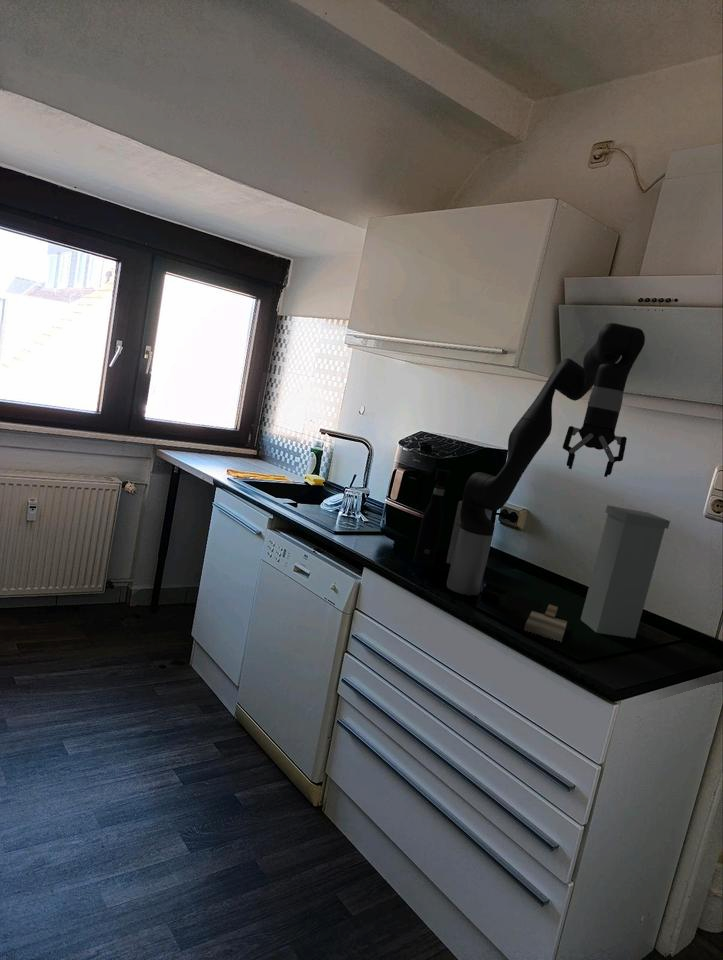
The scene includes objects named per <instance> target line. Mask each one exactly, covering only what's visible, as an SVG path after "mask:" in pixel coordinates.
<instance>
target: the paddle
mask: <svg viewBox="0 0 723 960" xmlns="http://www.w3.org/2000/svg"><path fill="white" fill-rule="evenodd" d="M558 608H559V607H558V606H556V605H553V604H548V606H547V608H546V611H545V613H541V612H538V611H534V610H531V612H530V614H529V616H528V618H527V620H526V622H525V623H524V624H525V625H524V629H523V631H524V630H525V631H524V632H526V631H528V632H527V633H529V632H532V633H531V634H533V633H535V634H534V635H536V634H538V635H537V636H539V635H541V636H540V637H542V636H543V638H545V637H546V638H545V639H548V638H550V639H549V640H552V639H553V640H552V641H555V640H557V641H556V642H558V641H560V642H559V643H562V642H563V638H564V635H565V631H566V628H567V624H568V621H567V620H564V619H560V618H557V617H556V616H557V612H558Z"/></svg>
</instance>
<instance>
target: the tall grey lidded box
mask: <svg viewBox="0 0 723 960" xmlns="http://www.w3.org/2000/svg"><path fill="white" fill-rule="evenodd" d="M605 513H606V515H607V516H606V519H605V524H604V526H603V527H604V528H603V531H602V535H601V538H600V543H599V546H598V550H597V554H596V559H595V563H594V565H593V570H592V574H591V577H590V582H589V585H588V589H587V593H586V596H585V601H584V603H583V604H584V605H583V608H582V613H581V617H580V620H581V622H582V623H584V624H586V625H587V626H588V627H589V628H590V629H591V630H592V631H594V632H595V633H597V634H603V635H607V636H608V635H609V636H617V637H622V638H629V637H630V638H629V639H636V636H637V633H638V629H639V626H640V621H641V618H642V615H643V611H644V607H645V603H646V600H647V595H648V592H649V589H650V585H651V581H652V577H653V574H654V570H655V566H656V564H657V563H656V562H657V559H658V555H659V551H660V548H661V545H662V540H663V536H664V533H665V531H666V530H665V529H667V530H668V529H669V527H670V522H671V521H670V520H668V519H666V518H664V517H661V516H659V515H658V516H657V515H655V514H653V513H650V512H646V511H641V510H636V509H630V508H625V507H620V506H615V505H614V506H613V505H609V504H607V505H606V508H605Z"/></svg>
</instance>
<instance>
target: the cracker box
mask: <svg viewBox="0 0 723 960" xmlns="http://www.w3.org/2000/svg"><path fill="white" fill-rule="evenodd" d="M461 506H462V500H459V501H458V502H457V508H456V512H455V518H454V522H453V527H452V531H451V532H452V533H451V538H450V541H449V542H450V543H449V547H448V551H447V556H446V561H445V564H448V565H451V561H452V557H453V553H454V552H455V547H456V543H457V538H458V534H459V529H460V525H461V519H460V512H461ZM485 513H486V515H487V517H488V519H489V520H490V521H491V520H492V514H493V511H491V510H487V509H485Z"/></svg>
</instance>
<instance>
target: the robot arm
mask: <svg viewBox="0 0 723 960" xmlns="http://www.w3.org/2000/svg"><path fill="white" fill-rule="evenodd" d="M645 335H646V334H645V332H644V331H643V330H642V329H641V328H638V327H636V326H635V327H634V326H630V325H624V324H621V323H620V324H619V323H616V322H615V323H613V322H610V323H607V324H605V325H603V326H602V327H601V329H600V331H599V333H598V337H597V340H596V342H595V343H594V344H593V346H591V347H590V348H589V349H588V350H587V351H586V353H585V355H584V357H583V360H582V361H583V362H582V364H583V366H582V365H580V364H579V363H577V362H576V361H574V360H573V359H572V358H564V359H562V360H561V361H560V362H559V363H558V365H557V366H556V367H555V368H554V369H553V371H552V373H551V374H550V375H549V377H548V379H547V380H546V382H545V384H544V385H543V387H542V388H541V390H540V392H539V393H538V394H537V396H536V397H535V399H534V400H533V402H532V403H531V405H530V406H529V407H528V409H527V410H526V411H525V412H524V414H523V415H522V416H521V417H520V419H519V420H518V422H517V423H516V424H515V426H514V427H513V428H512V430H511V431H510V432H509V436H508V440H507V441H508V442H507V458H506V460H505V461H506V462H505V463H504V464H503V466H502V468H501V470H500V471H499V472H498V473H497V475H496V476H495V475H492V474H490V473H489V474H488V473H486V472H482V471H481V472H480V471H477V472H474V473H472V474H471V475H470V476H469V477H468V479H467V481H466V483H465V487H464V489H463V495H462V500H461V501H462V506H461V512H460V519H461V525H460V529H459V534H458V538H457V543H456V547H455V552H454V553H453V557H452V561H451V565H450V564H449V565H450V566H449V570H448V574H447V579H446V587H447V589H449V590H450V591H453V592H455V593H456V594H457V593H458V594H461V595H464V594H465V595H466V596H471V595H476V596H479V595H480V593H481V592H480V591H481V588H482V583H483V580H484V575H485V572H486V571H485V570H486V566H487V562H488V558H489V553H490V548H491V545H492V542H493V541H492V540H493V537H494V532H495V524H494V523H493V521H491V520H489V519H488V517H487V515H486V513H485V509H487V510H491V511H492V512H496V511H499V510H501V509H502V508H503V507H504V506H505V505H506V504H507V502H508V501H509V499H510V497H511V496H512V494H513V492H514V490H515V488H516V486H517V485H518V483H519V481H520V479H521V478H522V476H523V475H524V473H525V471H526V469H527V468H528V467H529V465H530V464H531V462H532V461H533V459H534V457H535V456H536V455H537V453H538V452H539V450H540V449H541V448H542V447H543V445H544V444H545V443H546V441H547V440H548V438H549V436H550V435H551V432H552V430H553V429H552V428H553V414H552V413H553V410H552V409H553V400H554V399H553V398H554V395H555V392H556V391H557V392H559V393H560V394H561V395H563V396H564V397H566V398H568V399H569V400H571V401H575V402H576V401H578V400H581V399H582V398H583V397H584V396H585V395H586V394H587V393H588V392H589V391H590V390H591V389H592V390H591V393H590V395H589V399H588V402H587V408H586V412H585V415H584V419H583V424H582V427H581V428H578V427H574V426H573V425H569V426H568V428H567V432H566V435H565V438H564V441H563V445H562V449H563V450H565V451H566V452H568V456H567V460H566V461H567V462H566V466H567V467H568V469H569V470H572V469H573V465H574V461H575V458H576V454H575V453H576V452H577V451H579V450H580V449H581V448H582V447H584V446H585V447H586V448H591V449H595V450H597V451H602V450H603V451H604V452H605V455H606V456H607V459H608V461H607V463H606V468H605V472H604V474H603V476H604V477H605V478H608V475H609V476H610V475H611V474H612V472H613V467H614V464H615V463H616V462H622V461H623V459H624V456H625V451H626V445H627V440H628V439H627V437H626V436H619V435H616V434H615V431H616V427H617V425H618V420H619V416H620V412H621V409H622V405H623V397H624V391H625V388H626V384H627V380H628V377H629V374H630V371H631V370H632V368H633V365H634V363H635V362H636V361H637V358H638V357H639V355H640V354H641V352H642V349H643V348H644V346H645V343H646V342H645V341H646V336H645ZM577 433H579V434H578V435H579V436H580V438H581V440H580V441H578V442H577V443H576V444H575V445H574V446H572V447H571V446H570V443H571V441H572V437H574V436H575V435H577ZM614 441H616V443H617V445H618V446H619V450H618V454H617V456H614V455H613V452H612V450H611V448H610V446H609V445H610V444H612V443H613V442H614Z"/></svg>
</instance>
